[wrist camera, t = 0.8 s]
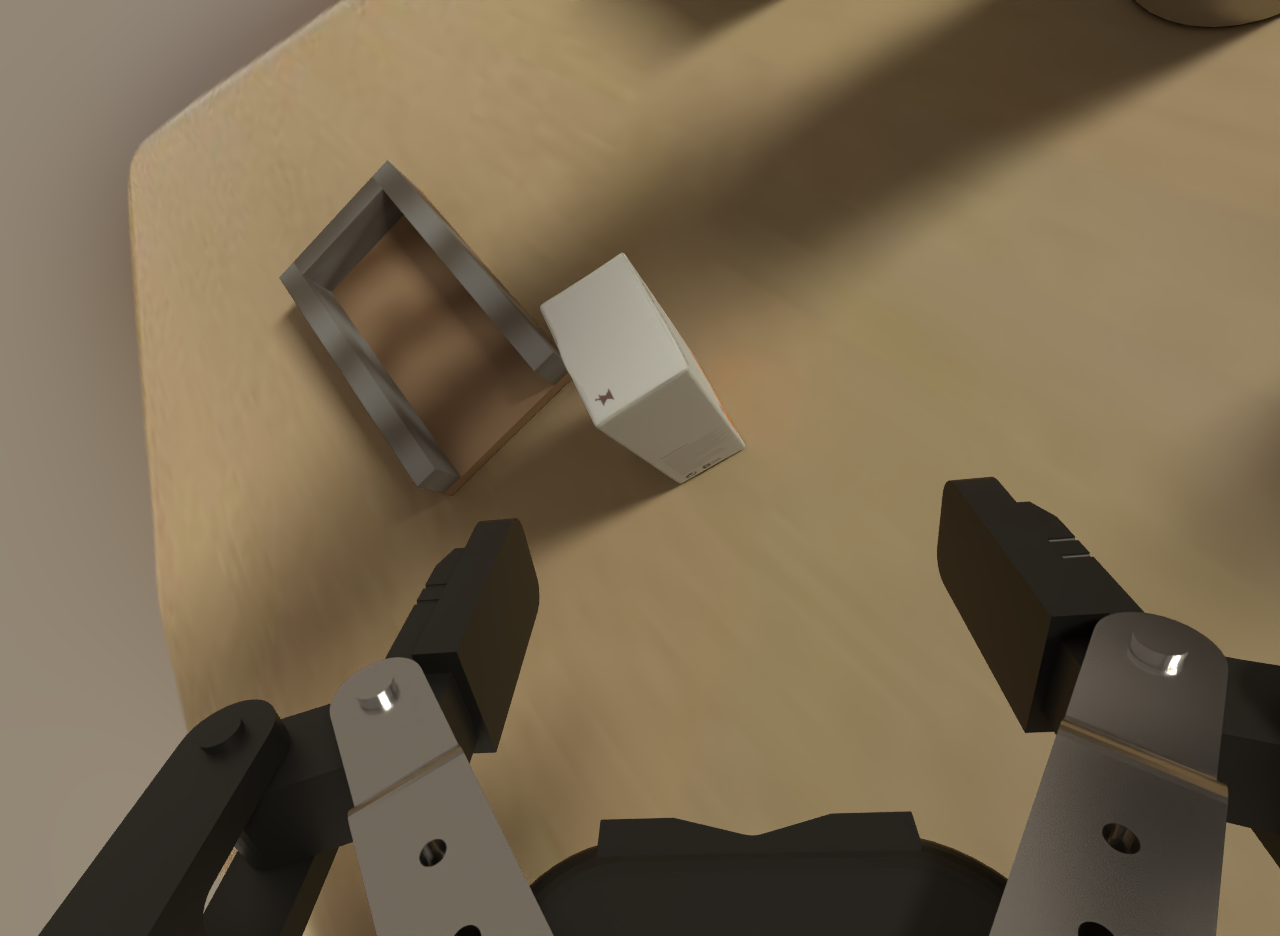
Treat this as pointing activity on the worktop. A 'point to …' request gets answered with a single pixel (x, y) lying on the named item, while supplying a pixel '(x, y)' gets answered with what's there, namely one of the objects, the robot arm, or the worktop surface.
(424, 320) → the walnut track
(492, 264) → the worktop surface
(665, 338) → the skincare box
